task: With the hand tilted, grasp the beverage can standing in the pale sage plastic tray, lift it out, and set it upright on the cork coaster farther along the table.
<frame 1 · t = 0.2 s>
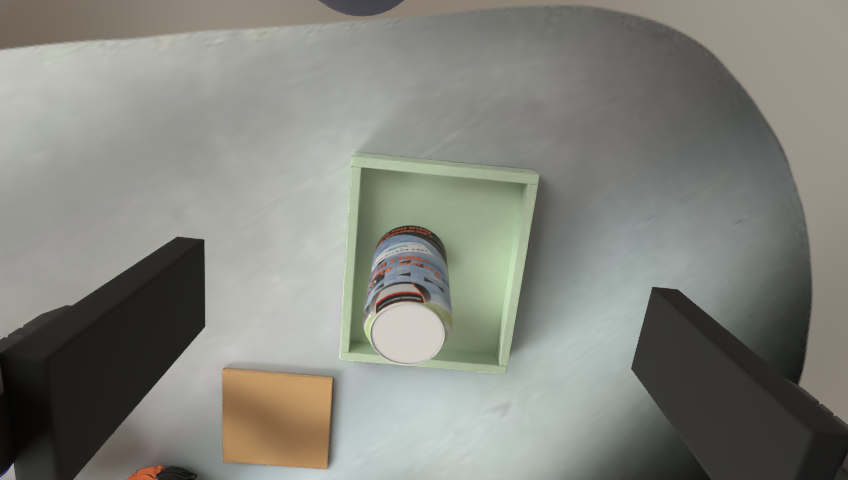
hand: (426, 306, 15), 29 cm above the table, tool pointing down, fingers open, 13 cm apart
beverage can: (410, 261, 45), resting on tray
tray: (433, 262, 45), on the table
coaster: (277, 418, 50), on the table
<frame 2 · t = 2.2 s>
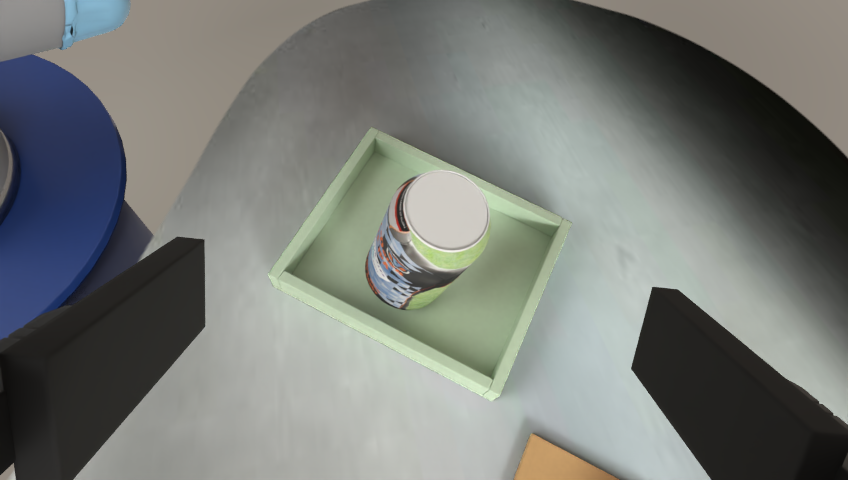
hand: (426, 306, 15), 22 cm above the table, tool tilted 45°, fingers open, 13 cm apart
beverage can: (413, 280, 39), resting on tray
tray: (425, 259, 40), on the table
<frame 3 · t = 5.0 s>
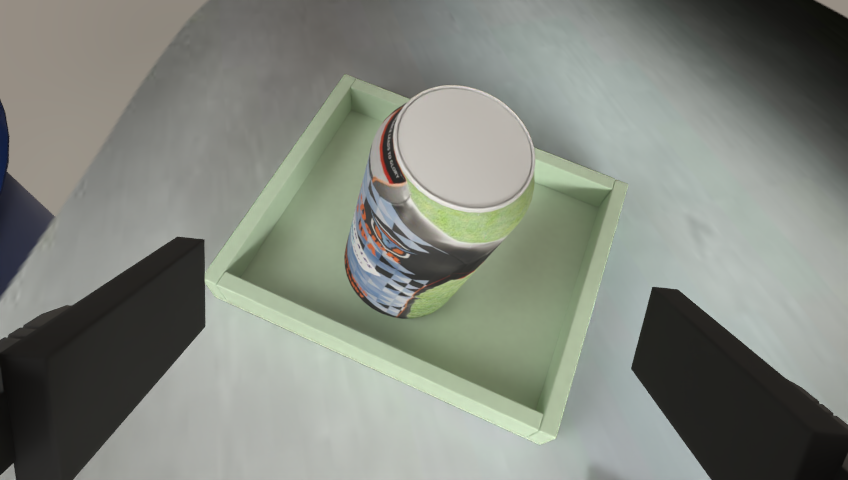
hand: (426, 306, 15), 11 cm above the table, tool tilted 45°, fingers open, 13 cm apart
beverage can: (414, 276, 28), resting on tray
tray: (429, 247, 29), on the table
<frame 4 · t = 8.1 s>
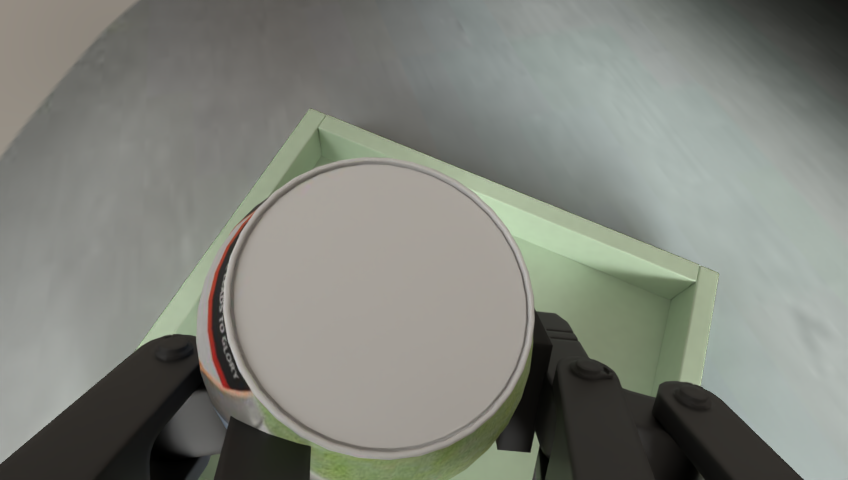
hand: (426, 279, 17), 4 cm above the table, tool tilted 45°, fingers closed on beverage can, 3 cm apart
beverage can: (356, 406, 19), resting on tray, touching gripper
tray: (428, 366, 20), on the table
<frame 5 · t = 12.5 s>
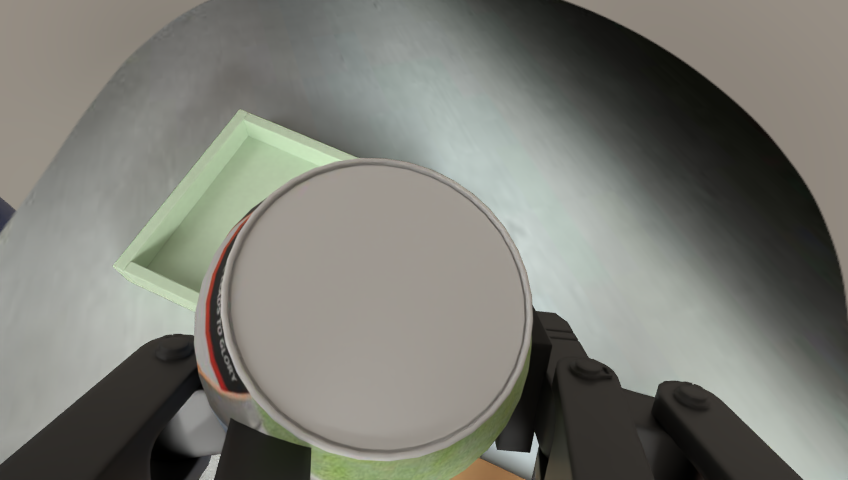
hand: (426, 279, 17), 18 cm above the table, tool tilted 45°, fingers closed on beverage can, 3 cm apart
beverage can: (355, 406, 19), point 15 cm above the table, touching gripper
tray: (297, 244, 38), on the table
when the fingers open (4 cm above the table, at t = 17.3 s): beverage can stays where it is, resting on coaster.
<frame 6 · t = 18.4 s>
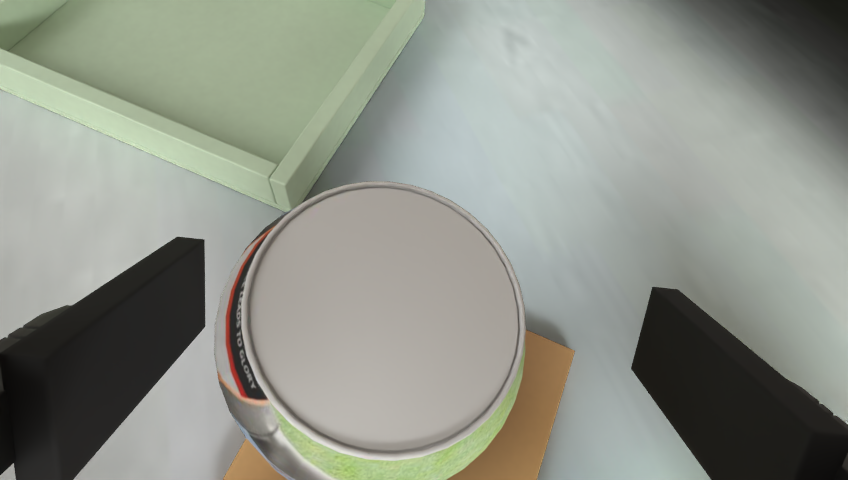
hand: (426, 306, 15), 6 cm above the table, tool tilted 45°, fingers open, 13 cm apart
beverage can: (358, 409, 19), resting on coaster
tray: (216, 44, 28), on the table
coaster: (409, 417, 20), on the table
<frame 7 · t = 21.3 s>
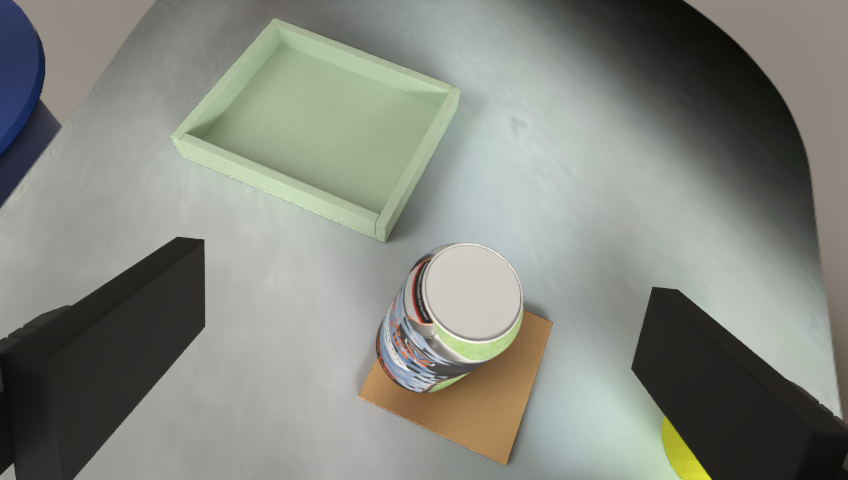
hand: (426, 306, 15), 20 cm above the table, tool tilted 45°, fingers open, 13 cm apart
ornament: (694, 448, 34), on the table
beverage can: (431, 354, 35), resting on coaster
tray: (326, 131, 43), on the table
coaster: (459, 358, 35), on the table
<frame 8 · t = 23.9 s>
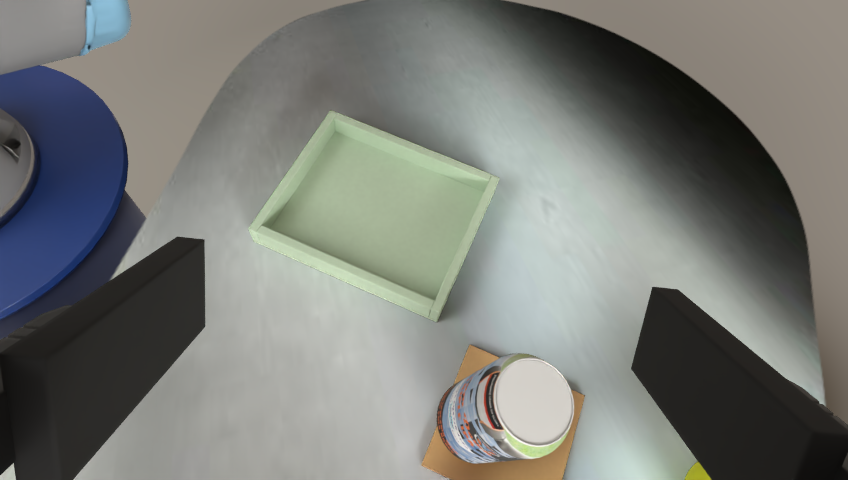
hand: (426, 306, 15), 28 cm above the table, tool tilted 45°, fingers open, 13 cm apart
beverage can: (481, 425, 40), resting on coaster
tray: (379, 215, 49), on the table
coaster: (505, 429, 41), on the table
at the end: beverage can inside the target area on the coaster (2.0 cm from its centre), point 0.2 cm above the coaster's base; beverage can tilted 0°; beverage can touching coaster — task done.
